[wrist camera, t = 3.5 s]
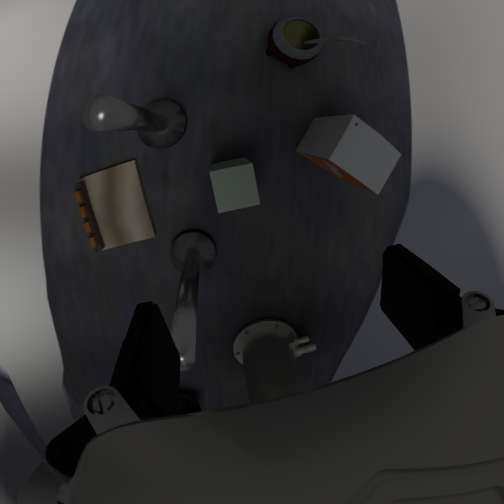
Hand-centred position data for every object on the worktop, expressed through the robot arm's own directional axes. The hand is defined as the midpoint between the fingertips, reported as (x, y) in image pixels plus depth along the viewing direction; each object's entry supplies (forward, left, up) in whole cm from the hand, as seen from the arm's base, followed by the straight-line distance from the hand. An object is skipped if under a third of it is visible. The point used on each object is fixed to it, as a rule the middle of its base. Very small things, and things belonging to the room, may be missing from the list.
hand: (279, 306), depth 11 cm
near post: (+8, -10, -33) cm, 35 cm away
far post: (+8, +10, -33) cm, 35 cm away
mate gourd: (-12, -18, -33) cm, 39 cm away
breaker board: (+18, 0, -32) cm, 37 cm away
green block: (0, 0, -33) cm, 33 cm away
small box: (-15, -2, -33) cm, 36 cm away
